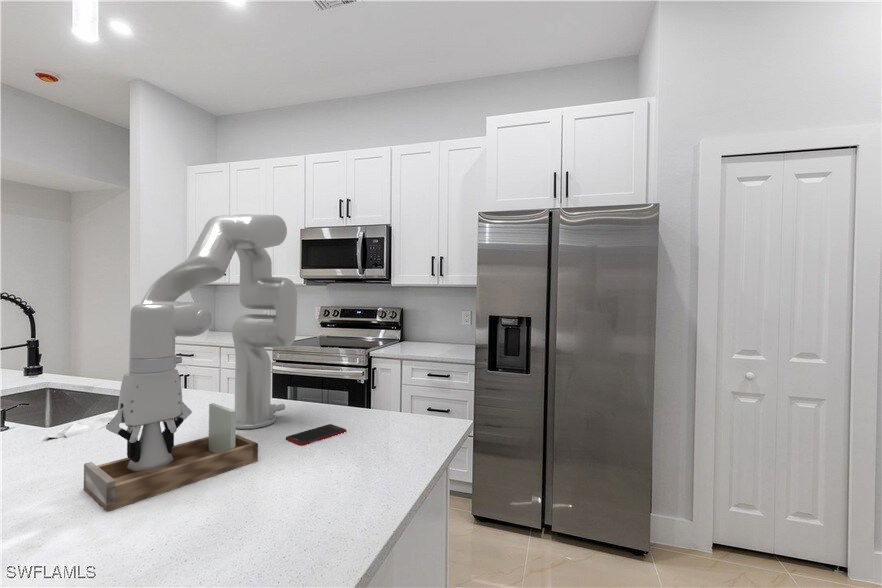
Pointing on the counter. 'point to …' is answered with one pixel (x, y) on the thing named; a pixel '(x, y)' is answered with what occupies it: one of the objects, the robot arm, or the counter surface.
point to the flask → (151, 449)
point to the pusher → (221, 428)
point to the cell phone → (315, 434)
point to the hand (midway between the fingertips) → (150, 455)
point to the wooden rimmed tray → (163, 472)
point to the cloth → (82, 427)
